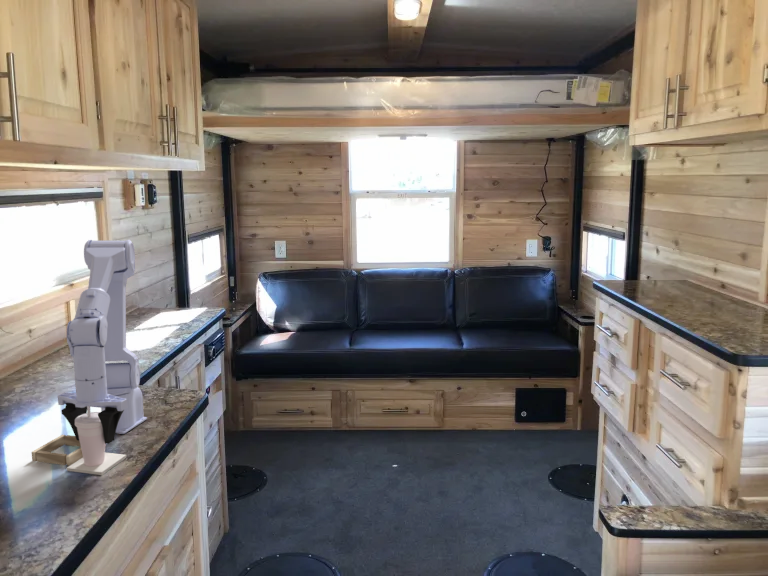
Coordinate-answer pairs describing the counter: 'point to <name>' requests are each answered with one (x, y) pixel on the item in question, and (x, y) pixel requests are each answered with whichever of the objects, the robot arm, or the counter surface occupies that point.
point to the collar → (47, 456)
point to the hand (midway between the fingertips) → (95, 440)
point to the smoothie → (91, 438)
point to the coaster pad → (108, 463)
